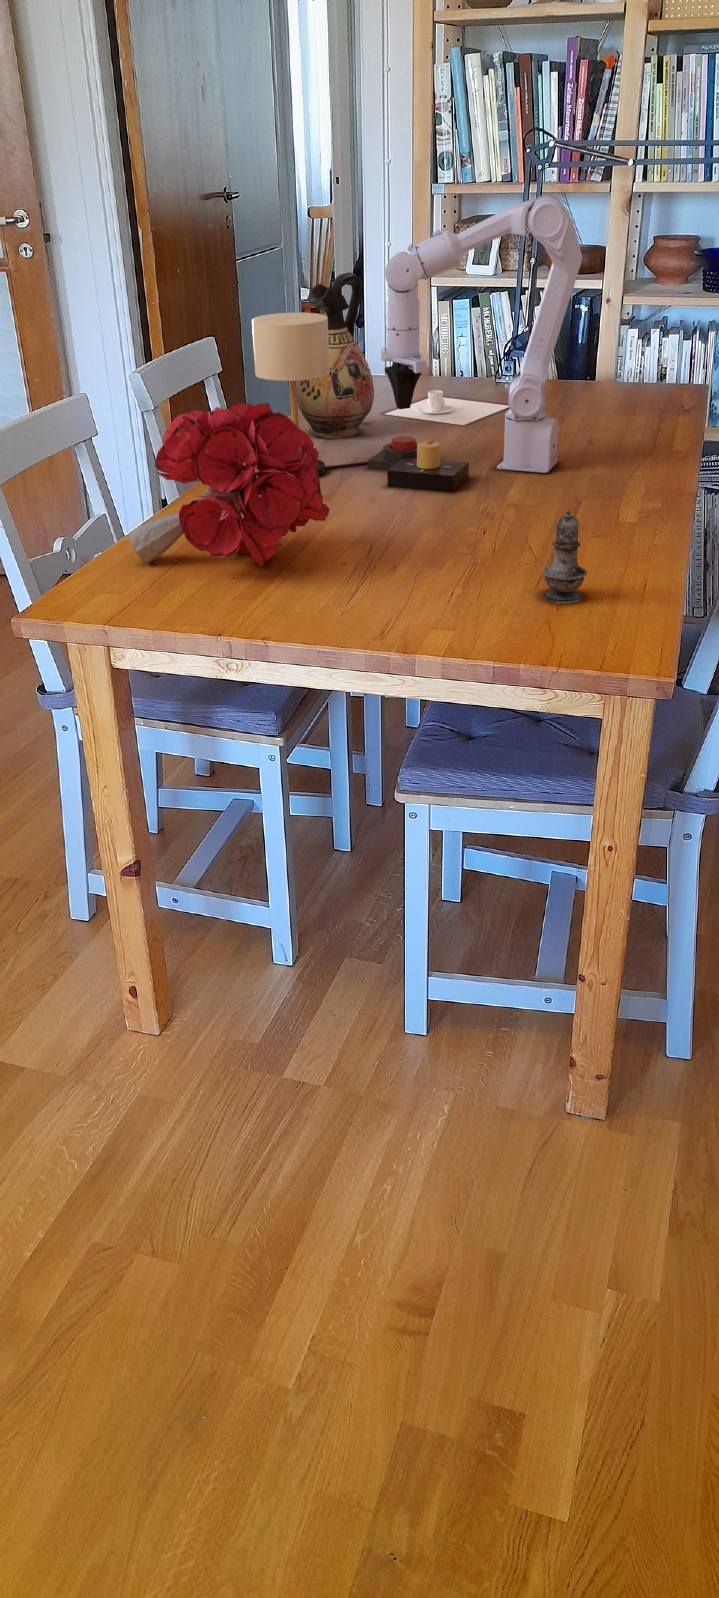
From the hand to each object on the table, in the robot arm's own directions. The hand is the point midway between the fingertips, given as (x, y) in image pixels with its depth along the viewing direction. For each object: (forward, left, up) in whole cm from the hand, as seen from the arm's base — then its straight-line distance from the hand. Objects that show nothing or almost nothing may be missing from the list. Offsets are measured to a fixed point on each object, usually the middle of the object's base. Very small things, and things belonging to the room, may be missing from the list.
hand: (403, 407), depth 215 cm
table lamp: (+14, +8, -10) cm, 20 cm away
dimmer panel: (-8, +10, -10) cm, 16 cm away
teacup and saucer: (+6, -45, -11) cm, 47 cm away
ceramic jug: (+21, -20, -11) cm, 31 cm away
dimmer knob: (-8, +9, -7) cm, 14 cm away
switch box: (0, 0, -10) cm, 10 cm away
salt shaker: (-43, +56, -11) cm, 71 cm away
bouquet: (+7, +56, -11) cm, 57 cm away
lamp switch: (0, 0, -7) cm, 7 cm away
